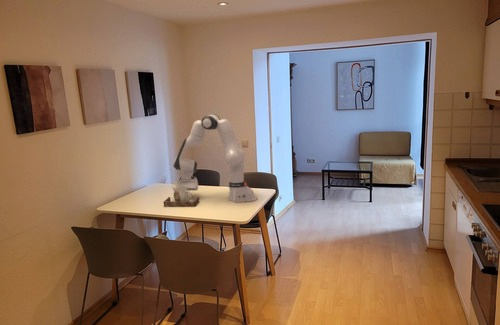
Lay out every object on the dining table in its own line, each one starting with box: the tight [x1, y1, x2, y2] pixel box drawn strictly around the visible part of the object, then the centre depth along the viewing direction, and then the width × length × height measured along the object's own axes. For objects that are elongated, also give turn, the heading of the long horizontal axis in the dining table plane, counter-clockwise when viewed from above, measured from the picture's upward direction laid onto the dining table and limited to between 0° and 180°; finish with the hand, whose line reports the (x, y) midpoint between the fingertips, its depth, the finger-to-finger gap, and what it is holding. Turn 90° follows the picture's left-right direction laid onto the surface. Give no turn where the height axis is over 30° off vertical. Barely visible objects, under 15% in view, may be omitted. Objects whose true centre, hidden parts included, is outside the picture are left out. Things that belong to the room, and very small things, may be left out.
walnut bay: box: [163, 196, 200, 208], centre depth 291 cm, size 24×13×4 cm, turn 84°
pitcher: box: [171, 184, 192, 201], centre depth 291 cm, size 11×18×14 cm, turn 60°
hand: (184, 194), depth 297 cm, fingers closed, pressing on pitcher
